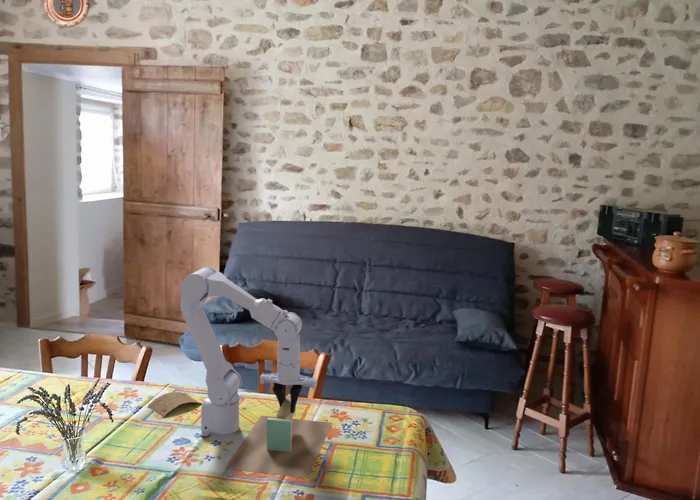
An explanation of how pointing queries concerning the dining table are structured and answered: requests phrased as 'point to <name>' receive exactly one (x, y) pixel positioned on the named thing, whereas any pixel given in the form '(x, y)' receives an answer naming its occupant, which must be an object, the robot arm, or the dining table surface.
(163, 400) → the brown curved sheet
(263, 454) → the board
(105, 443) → the dining table surface
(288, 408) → the beige long rectangular bar
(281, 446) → the tile
